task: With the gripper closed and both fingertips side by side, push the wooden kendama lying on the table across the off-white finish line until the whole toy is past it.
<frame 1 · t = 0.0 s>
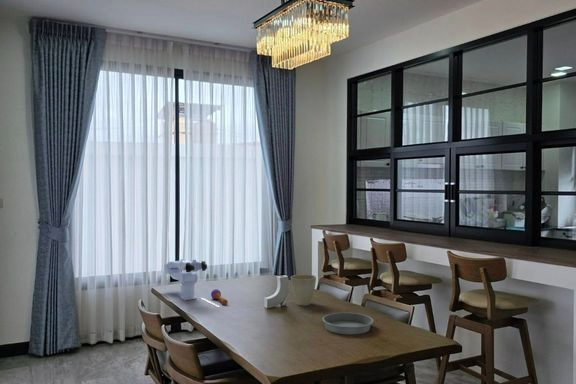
hand: (200, 267, 280), 22 cm above the table, tool horizontal, fingers open, 7 cm apart
cake pan: (347, 328, 235), on the table
kendama: (219, 301, 289), on the table
finish line: (210, 302, 286), on the table
plant pot: (303, 304, 282), on the table
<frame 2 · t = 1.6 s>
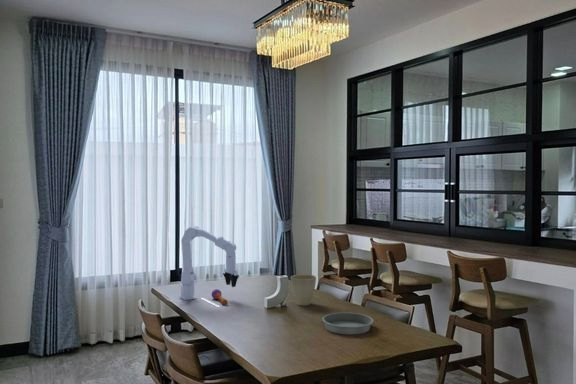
hand: (230, 285, 293), 8 cm above the table, tool pointing down, fingers open, 7 cm apart
nothing on the table moved.
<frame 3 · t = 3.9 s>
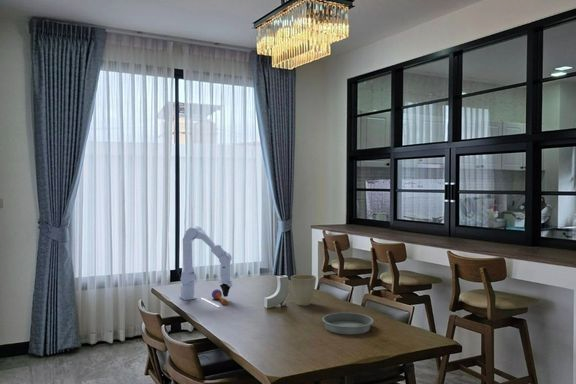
hand: (225, 296, 291), 2 cm above the table, tool pointing down, fingers closed
kendama: (220, 302, 289), on the table, touching gripper
everything else where it was.
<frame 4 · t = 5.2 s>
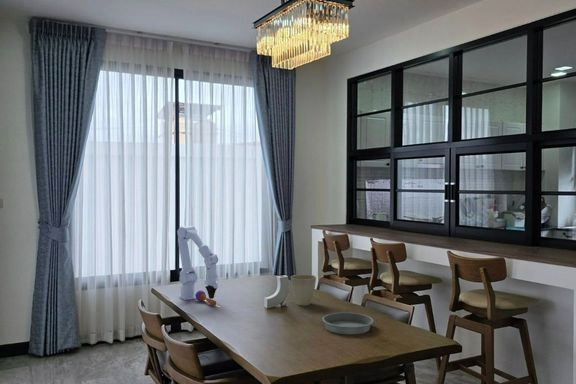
hand: (211, 298, 286), 2 cm above the table, tool pointing down, fingers closed
kendama: (207, 302, 285), on the table, touching gripper
everything else where it was.
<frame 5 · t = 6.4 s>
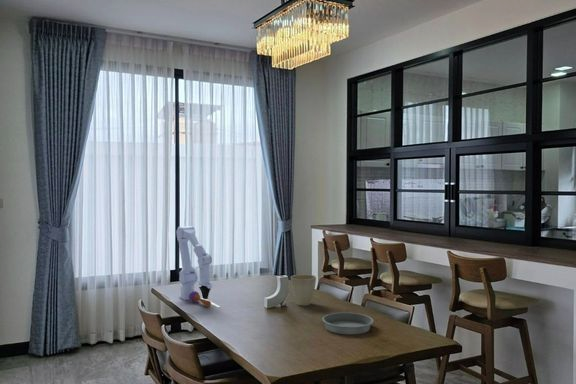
hand: (205, 298, 284), 3 cm above the table, tool pointing down, fingers closed, pressing on kendama
kendama: (202, 302, 283), point 1 cm above the table, touching gripper
everything else where it was.
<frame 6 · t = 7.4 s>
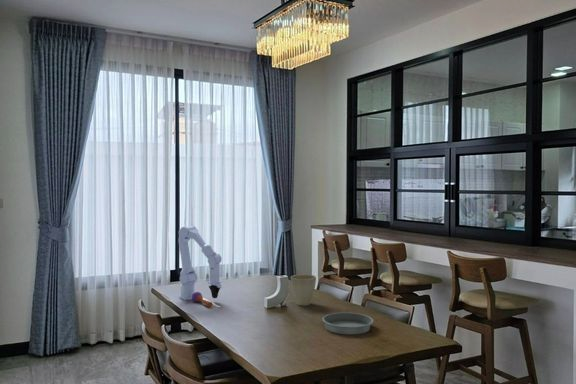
hand: (214, 297, 287), 2 cm above the table, tool pointing down, fingers closed
kendama: (202, 304, 283), on the table
everything else where it was.
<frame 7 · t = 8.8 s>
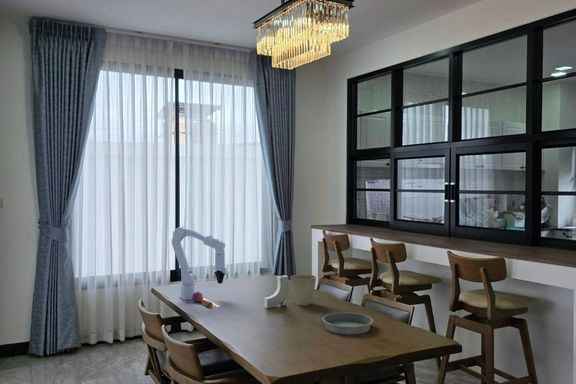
hand: (219, 283, 296), 9 cm above the table, tool pointing down, fingers closed
nothing on the table moved.
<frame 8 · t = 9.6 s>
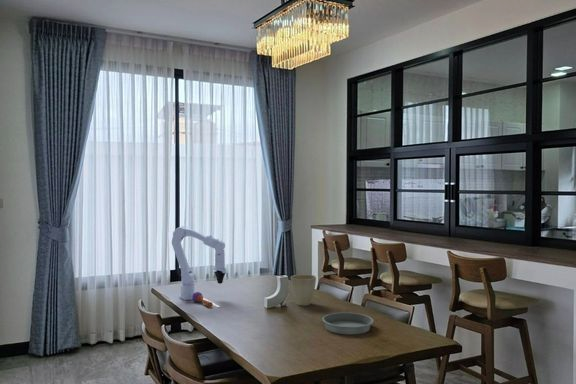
hand: (219, 283, 296), 9 cm above the table, tool pointing down, fingers closed
nothing on the table moved.
at the end: kendama inside the target area (4.2 cm from its centre), on the table; kendama moved 11.1 cm from its start; the gripper is holding nothing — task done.
